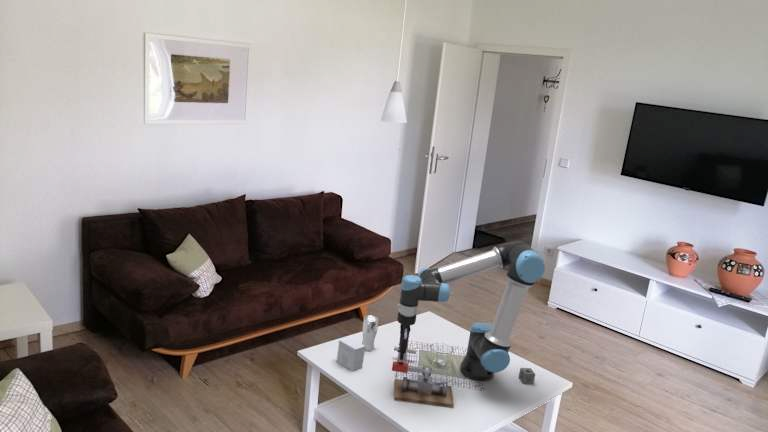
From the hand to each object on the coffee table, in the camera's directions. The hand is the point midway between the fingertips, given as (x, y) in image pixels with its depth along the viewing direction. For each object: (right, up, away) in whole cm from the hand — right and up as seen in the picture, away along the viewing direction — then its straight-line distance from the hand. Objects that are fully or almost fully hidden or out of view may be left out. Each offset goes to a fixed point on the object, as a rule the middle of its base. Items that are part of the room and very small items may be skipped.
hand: (400, 365), depth 255 cm
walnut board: (+9, -12, -1) cm, 15 cm away
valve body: (+9, -12, -1) cm, 15 cm away
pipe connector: (+2, -4, +25) cm, 25 cm away
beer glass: (-14, 0, +31) cm, 34 cm away
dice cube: (+57, -12, +20) cm, 61 cm away
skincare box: (-22, -3, +15) cm, 27 cm away
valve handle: (+4, -2, -4) cm, 6 cm away
